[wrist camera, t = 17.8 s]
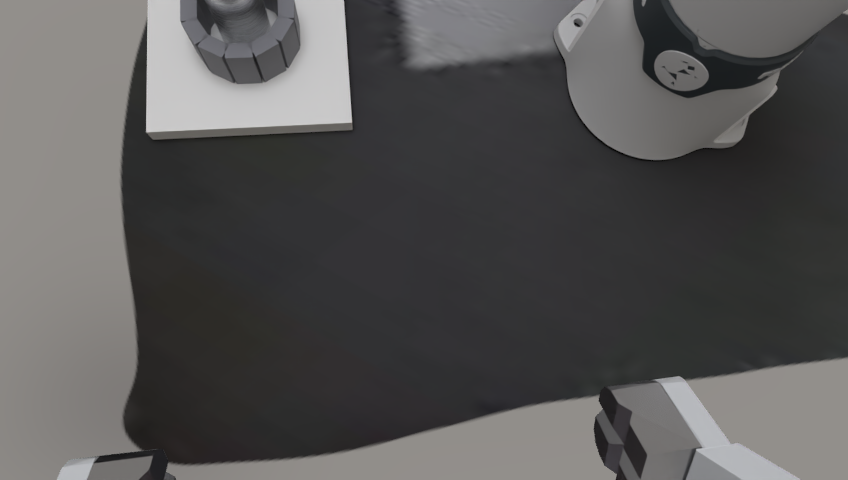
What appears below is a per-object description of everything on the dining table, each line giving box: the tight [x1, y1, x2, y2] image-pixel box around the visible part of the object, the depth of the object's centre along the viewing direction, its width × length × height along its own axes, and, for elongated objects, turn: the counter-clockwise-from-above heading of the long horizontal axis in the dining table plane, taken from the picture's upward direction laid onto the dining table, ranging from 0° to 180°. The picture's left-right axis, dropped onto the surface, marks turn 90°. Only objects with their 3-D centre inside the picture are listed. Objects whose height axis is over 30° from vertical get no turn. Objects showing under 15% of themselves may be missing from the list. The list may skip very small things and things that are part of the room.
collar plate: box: [146, 0, 353, 140], centre depth 47 cm, size 16×16×6 cm
